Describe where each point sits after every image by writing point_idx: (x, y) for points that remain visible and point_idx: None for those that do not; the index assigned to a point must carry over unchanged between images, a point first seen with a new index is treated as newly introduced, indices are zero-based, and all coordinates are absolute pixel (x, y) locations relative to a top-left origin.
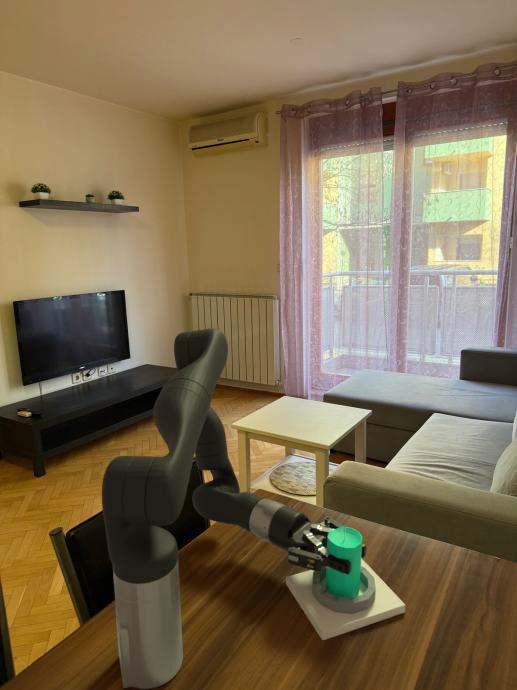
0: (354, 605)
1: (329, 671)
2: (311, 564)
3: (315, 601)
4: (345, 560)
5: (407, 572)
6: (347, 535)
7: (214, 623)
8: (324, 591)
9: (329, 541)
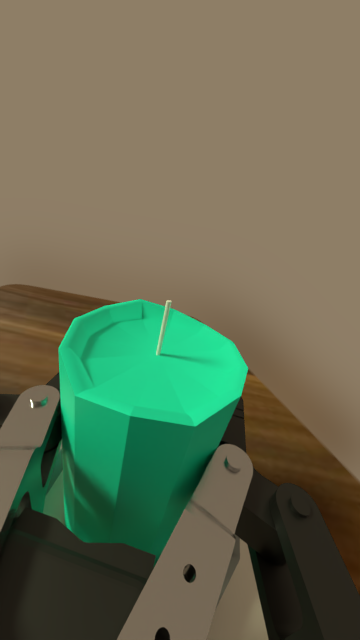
0: None
1: (343, 491)
2: (282, 593)
3: (224, 605)
4: None
5: (8, 375)
6: (125, 345)
7: None
8: None
9: (227, 410)
